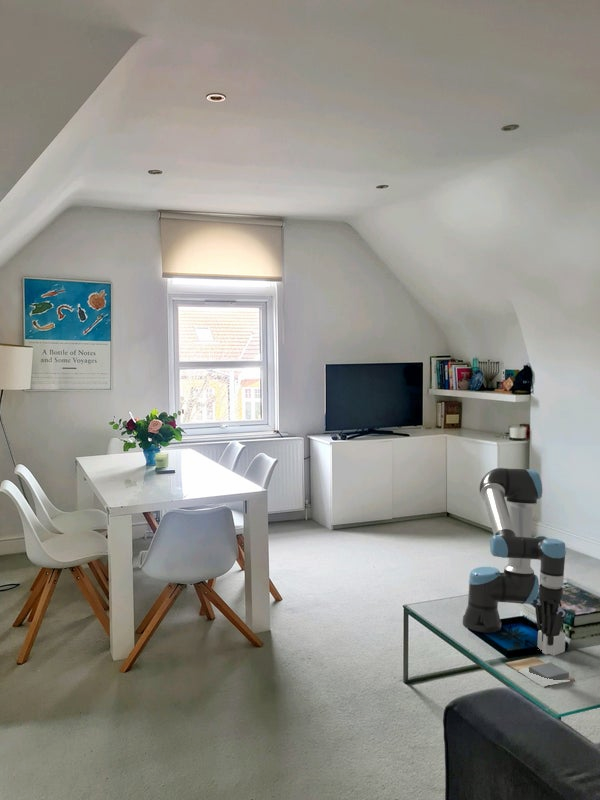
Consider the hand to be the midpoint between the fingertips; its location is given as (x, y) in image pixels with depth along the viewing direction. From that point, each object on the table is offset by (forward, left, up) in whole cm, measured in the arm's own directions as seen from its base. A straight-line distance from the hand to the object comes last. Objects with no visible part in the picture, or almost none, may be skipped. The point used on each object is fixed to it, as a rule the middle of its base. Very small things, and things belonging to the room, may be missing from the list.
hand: (546, 652), depth 221 cm
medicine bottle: (-15, +18, -8) cm, 25 cm away
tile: (-2, 0, -6) cm, 7 cm away
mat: (-3, 0, -8) cm, 8 cm away
